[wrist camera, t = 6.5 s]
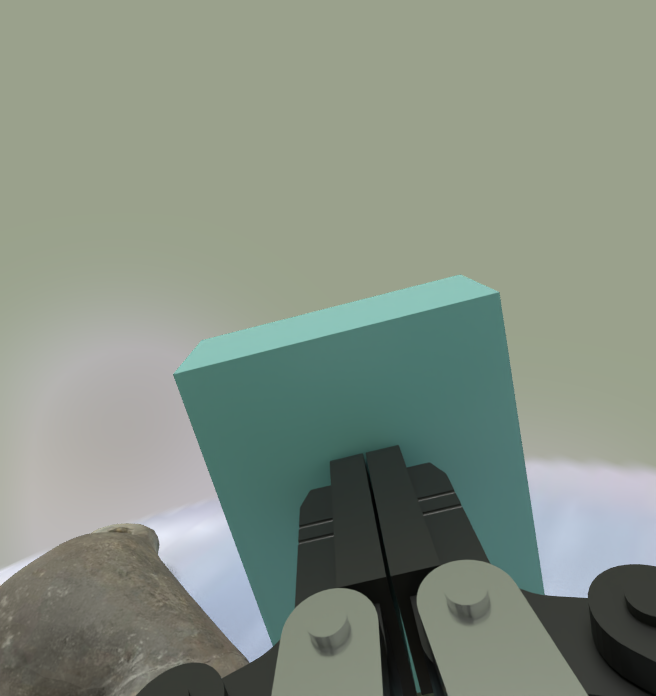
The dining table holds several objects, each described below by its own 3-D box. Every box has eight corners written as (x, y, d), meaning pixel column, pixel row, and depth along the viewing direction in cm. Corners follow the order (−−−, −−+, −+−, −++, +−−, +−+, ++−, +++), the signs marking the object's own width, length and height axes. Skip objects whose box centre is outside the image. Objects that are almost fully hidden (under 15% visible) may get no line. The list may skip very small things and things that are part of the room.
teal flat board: (578, 821, 13) (499, 292, 9) (354, 867, 14) (172, 374, 9) (538, 728, 16) (460, 274, 12) (348, 768, 16) (201, 340, 12)
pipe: (253, 763, 27) (76, 602, 32) (328, 621, 27) (142, 483, 32) (-24, 1193, 12) (-286, 755, 16) (155, 855, 12) (-154, 522, 17)
